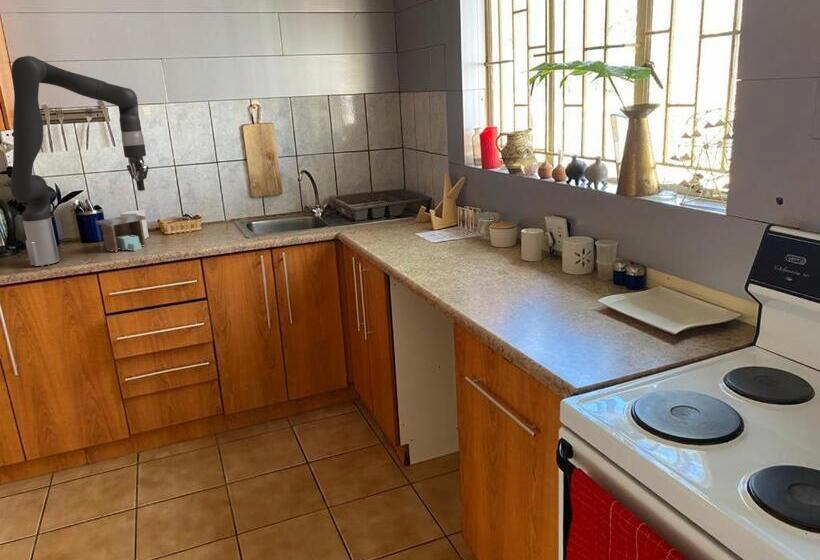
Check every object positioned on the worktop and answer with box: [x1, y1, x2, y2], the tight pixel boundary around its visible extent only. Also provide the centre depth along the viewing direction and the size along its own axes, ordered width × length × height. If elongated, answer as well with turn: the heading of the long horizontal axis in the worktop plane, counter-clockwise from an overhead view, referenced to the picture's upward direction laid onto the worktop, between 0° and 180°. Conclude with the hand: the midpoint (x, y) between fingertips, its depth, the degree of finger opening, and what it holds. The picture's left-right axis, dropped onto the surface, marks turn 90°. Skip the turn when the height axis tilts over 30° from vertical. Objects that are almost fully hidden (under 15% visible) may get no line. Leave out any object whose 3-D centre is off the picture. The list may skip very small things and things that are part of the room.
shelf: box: [94, 215, 147, 252], centre depth 267 cm, size 16×10×12 cm, turn 138°
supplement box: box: [119, 209, 150, 239], centre depth 281 cm, size 7×7×13 cm
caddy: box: [116, 234, 143, 250], centre depth 266 cm, size 12×6×5 cm, turn 48°
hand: (141, 190), depth 248 cm, fingers closed
